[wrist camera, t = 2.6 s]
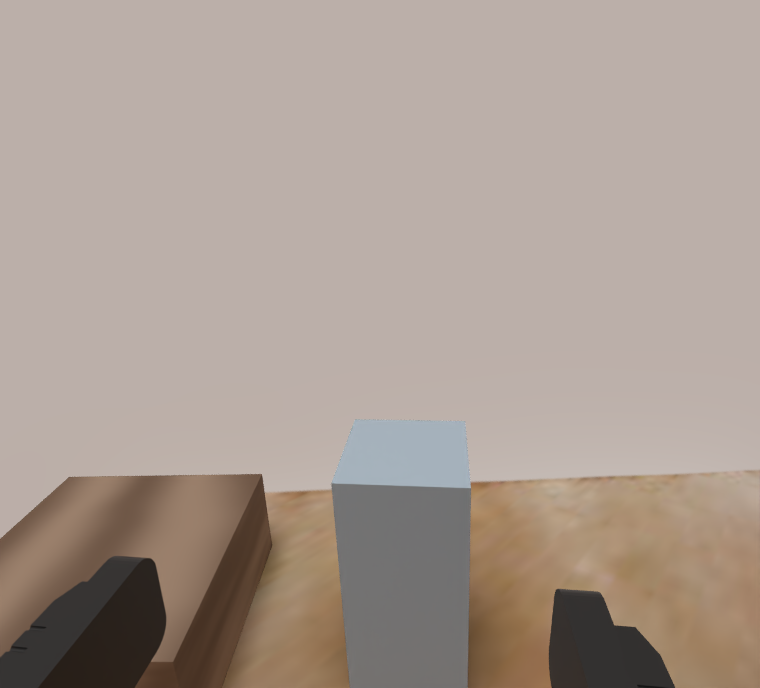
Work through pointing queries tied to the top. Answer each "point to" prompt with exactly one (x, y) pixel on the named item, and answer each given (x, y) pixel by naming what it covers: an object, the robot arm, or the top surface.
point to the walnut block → (148, 540)
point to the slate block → (404, 553)
